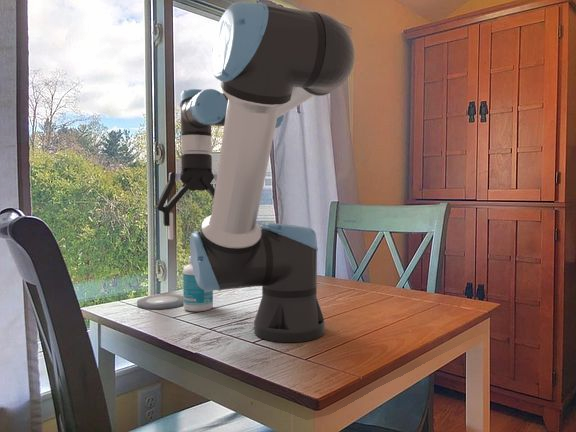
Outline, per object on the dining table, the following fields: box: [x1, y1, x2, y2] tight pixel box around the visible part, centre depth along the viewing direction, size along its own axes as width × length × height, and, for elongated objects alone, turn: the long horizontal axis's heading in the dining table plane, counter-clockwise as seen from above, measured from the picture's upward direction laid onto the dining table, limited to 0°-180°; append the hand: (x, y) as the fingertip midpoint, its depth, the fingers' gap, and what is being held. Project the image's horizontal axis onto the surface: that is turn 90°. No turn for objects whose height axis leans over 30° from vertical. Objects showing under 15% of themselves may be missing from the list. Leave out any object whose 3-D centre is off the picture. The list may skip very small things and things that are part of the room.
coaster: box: [136, 294, 184, 310], centre depth 128 cm, size 13×13×1 cm
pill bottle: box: [182, 255, 214, 312], centre depth 122 cm, size 8×7×14 cm
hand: (197, 238), depth 122 cm, fingers open, 13 cm apart
